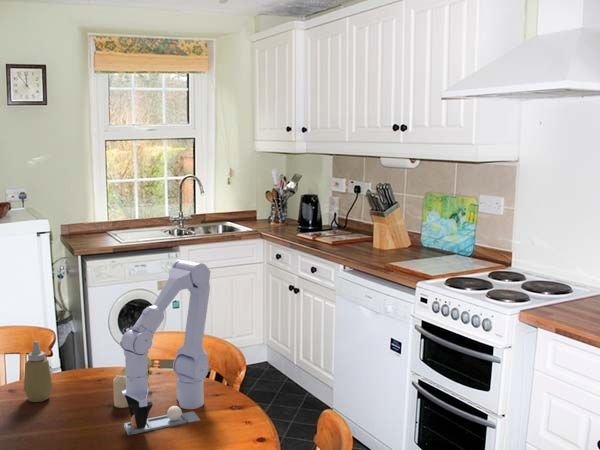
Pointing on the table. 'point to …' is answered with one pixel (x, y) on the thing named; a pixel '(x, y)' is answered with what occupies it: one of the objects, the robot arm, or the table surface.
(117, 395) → the candle
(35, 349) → the squeeze bottle
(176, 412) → the cream ball
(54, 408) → the table surface
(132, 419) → the rust ball
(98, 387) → the table surface
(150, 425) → the board
